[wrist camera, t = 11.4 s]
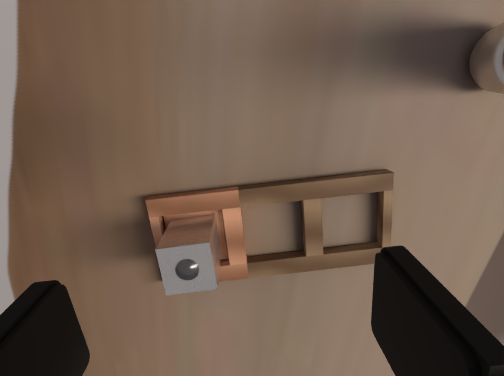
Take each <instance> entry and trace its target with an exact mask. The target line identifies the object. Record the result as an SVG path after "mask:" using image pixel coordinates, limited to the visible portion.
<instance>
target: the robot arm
mask: <svg viewBox="0 0 504 376" xmlns="http://www.w3.org/2000/svg"><path fill="white" fill-rule="evenodd" d="M371 326H372V331H373V334H374V336H375V338H376V340H377V342H378V344H379V346H380V348H381V349H382V351H383V353H384V355H385V357H386V359H387V361H388V363H389V364H390V366H391V368H392V370H393V372H394V374H395V376H504V346H503V345H502V344H501V343H500V342H499V341H498V340H497V339H496V338H495V337H494V336H493V335H492V334H491V333H490V332H489V331H488V330H487V329H486V328H485V327H484V326H483V325H482V324H481V323H480V322H479V321H478V320H477V319H476V318H475V317H474V316H473V315H472V314H471V313H470V312H469V311H468V310H467V309H466V308H465V307H464V306H463V305H462V304H461V303H460V302H459V301H458V300H457V299H456V298H455V297H454V296H453V295H452V294H451V293H450V292H449V291H448V290H447V289H446V288H445V287H444V286H443V285H442V284H441V283H440V282H439V281H438V280H437V279H436V278H435V277H434V276H433V275H432V274H431V273H430V272H429V271H428V270H427V269H426V268H425V267H424V266H423V265H422V264H421V263H420V262H419V261H418V260H417V259H416V258H415V257H414V256H413V255H412V254H411V253H410V252H409V251H408V250H407V249H406V248H405V247H404V246H392V247H383V248H382V249H381V251H380V253H376V255H375V265H374V282H373V299H372V317H371ZM89 358H90V353H89V350H88V347H87V344H86V341H85V338H84V336H83V333H82V330H81V327H80V325H79V322H78V319H77V316H76V313H75V311H74V308H73V305H72V302H71V300H70V297H69V294H68V291H67V289H66V287H65V286H64V285H61V284H60V282H59V281H56V280H52V281H42V282H35V283H33V284H32V285H30V286H29V287H28V288H27V289H26V290H25V291H24V292H23V293H22V294H21V295H20V296H19V297H18V298H17V299H16V300H15V301H14V302H13V303H12V304H11V305H10V306H9V307H8V308H7V309H6V310H5V311H4V312H3V313H2V314H1V315H0V376H82V375H83V373H84V371H85V369H86V367H87V365H88V363H89Z"/></svg>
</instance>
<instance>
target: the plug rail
mask: <svg viewBox="0 0 504 376" xmlns="http://www.w3.org/2000/svg"><path fill="white" fill-rule="evenodd" d="M393 176H394V173H393V172H391V171H389V170H379V171H370V172H361V173H352V174H343V175H334V176H325V177H316V178H307V179H298V180H289V181H280V182H271V183H262V184H253V185H244V186H235V187H226V188H217V189H208V190H199V191H190V192H181V193H172V194H163V195H154V196H149V197H148V198H147V199H146V200H145V201H146V206H147V210H148V215H149V219H150V224H151V229H152V233H153V238H154V242H155V247H157V245H158V244H159V242H160V240H161V238H162V236H163V234H164V232H165V226H166V229H167V227H168V225H169V223H170V221H171V220H173V219H181V218H189V217H197V216H205V215H213V214H215V218H216V224H217V231H218V237H219V243H220V249H221V259H223V260H220V270H219V280H218V282H220V281H228V280H237V279H246V278H254V277H263V276H271V275H280V274H289V273H297V272H306V271H314V270H323V269H331V268H340V267H349V266H357V265H366V264H374V263H375V255H376V253H380V251H381V249H382V248H383V247H391V228H392V202H393ZM373 192H378V206H377V242H371V243H362V244H353V245H344V246H336V247H327V248H323V229H322V201H321V198H328V197H337V196H346V195H355V194H364V193H373ZM292 201H301V211H302V229H303V246H304V250H301V251H292V252H284V253H275V254H266V255H258V256H249V257H247V256H246V248H245V240H244V231H243V223H242V215H241V207H248V206H257V205H266V204H275V203H283V202H292ZM222 213H223V216H222ZM163 216H164V221H165V226H164V221H163ZM223 220H224V223H223ZM224 227H225V230H224ZM225 234H226V237H225ZM226 241H227V245H226ZM227 248H228V252H227ZM228 255H229V259H228Z"/></svg>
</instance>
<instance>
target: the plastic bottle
mask: <svg viewBox="0 0 504 376" xmlns="http://www.w3.org/2000/svg"><path fill="white" fill-rule="evenodd" d="M469 67H470V73H471V76H472V77H473V79H474V81H475V82H476V83H477V84H478V86H480V87H481V88H482V89H485V90H487V91H491V92H496V93H503V94H504V23H503V24H501V25H499V26H497V27H495V28H493V29H491V30H489V31H488V32H486V33H485V34H484V35H483V36H482V37H481V38H480V39H479V41H478V42H477V44H476V45H475V47H474V49H473V51H472V53H471V57H470V62H469Z"/></svg>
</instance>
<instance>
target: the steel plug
mask: <svg viewBox="0 0 504 376" xmlns="http://www.w3.org/2000/svg"><path fill="white" fill-rule="evenodd" d="M155 250H156V255H157V259H158V263H159V267H160V271H161V276H162V280H163V284H164V288H165V293H166V296H167V295H174V294H182V293H190V292H197V291H205V290H213V289H218V280H219V270H220V260H221V249H220V243H219V237H218V231H217V224H216V218H215V214H213V215H205V216H197V217H189V218H181V219H173V220H171V221H170V223H169V225H168V227H167V229H166V231H165V232H164V234H163V236H162V238H161V240H160V242H159V244H158V245H157V247H156V249H155Z"/></svg>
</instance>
